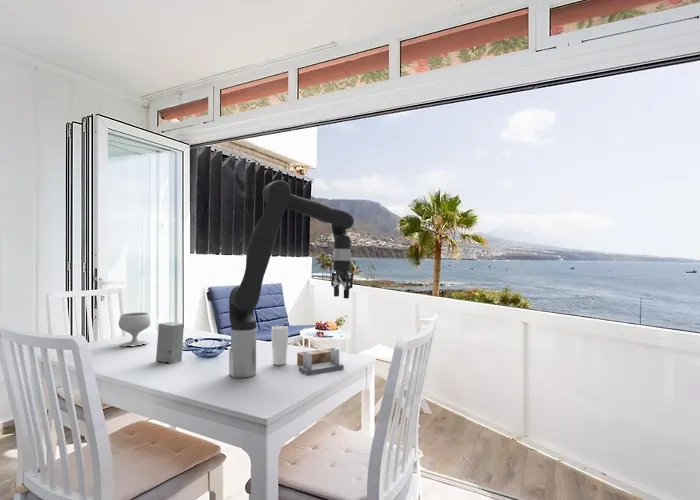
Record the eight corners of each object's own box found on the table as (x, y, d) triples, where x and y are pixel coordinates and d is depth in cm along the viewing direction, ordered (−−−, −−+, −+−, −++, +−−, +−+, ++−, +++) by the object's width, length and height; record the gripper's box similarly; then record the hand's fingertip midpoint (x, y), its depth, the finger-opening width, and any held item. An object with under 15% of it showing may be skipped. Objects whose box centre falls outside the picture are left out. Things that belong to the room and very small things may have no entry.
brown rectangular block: (302, 368, 162) (302, 355, 162) (297, 365, 167) (297, 352, 167) (338, 362, 170) (338, 350, 170) (332, 359, 175) (332, 348, 175)
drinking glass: (284, 366, 163) (284, 329, 163) (268, 365, 165) (268, 328, 165) (290, 362, 170) (290, 326, 170) (275, 361, 171) (275, 325, 171)
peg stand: (306, 374, 152) (306, 354, 152) (298, 370, 158) (298, 350, 158) (343, 368, 160) (343, 349, 160) (334, 364, 166) (335, 346, 166)
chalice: (130, 341, 210) (130, 312, 210) (156, 341, 208) (156, 312, 209) (111, 347, 196) (112, 316, 196) (139, 348, 195) (139, 316, 195)
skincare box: (155, 361, 170) (155, 323, 170) (169, 357, 177) (169, 321, 177) (171, 363, 167) (171, 325, 167) (184, 359, 174) (184, 322, 174)
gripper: (326, 259, 179) (325, 296, 179) (342, 259, 167) (341, 299, 166) (341, 259, 183) (340, 295, 183) (358, 259, 171) (357, 298, 170)
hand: (341, 297), depth 174 cm, fingers open, 8 cm apart
